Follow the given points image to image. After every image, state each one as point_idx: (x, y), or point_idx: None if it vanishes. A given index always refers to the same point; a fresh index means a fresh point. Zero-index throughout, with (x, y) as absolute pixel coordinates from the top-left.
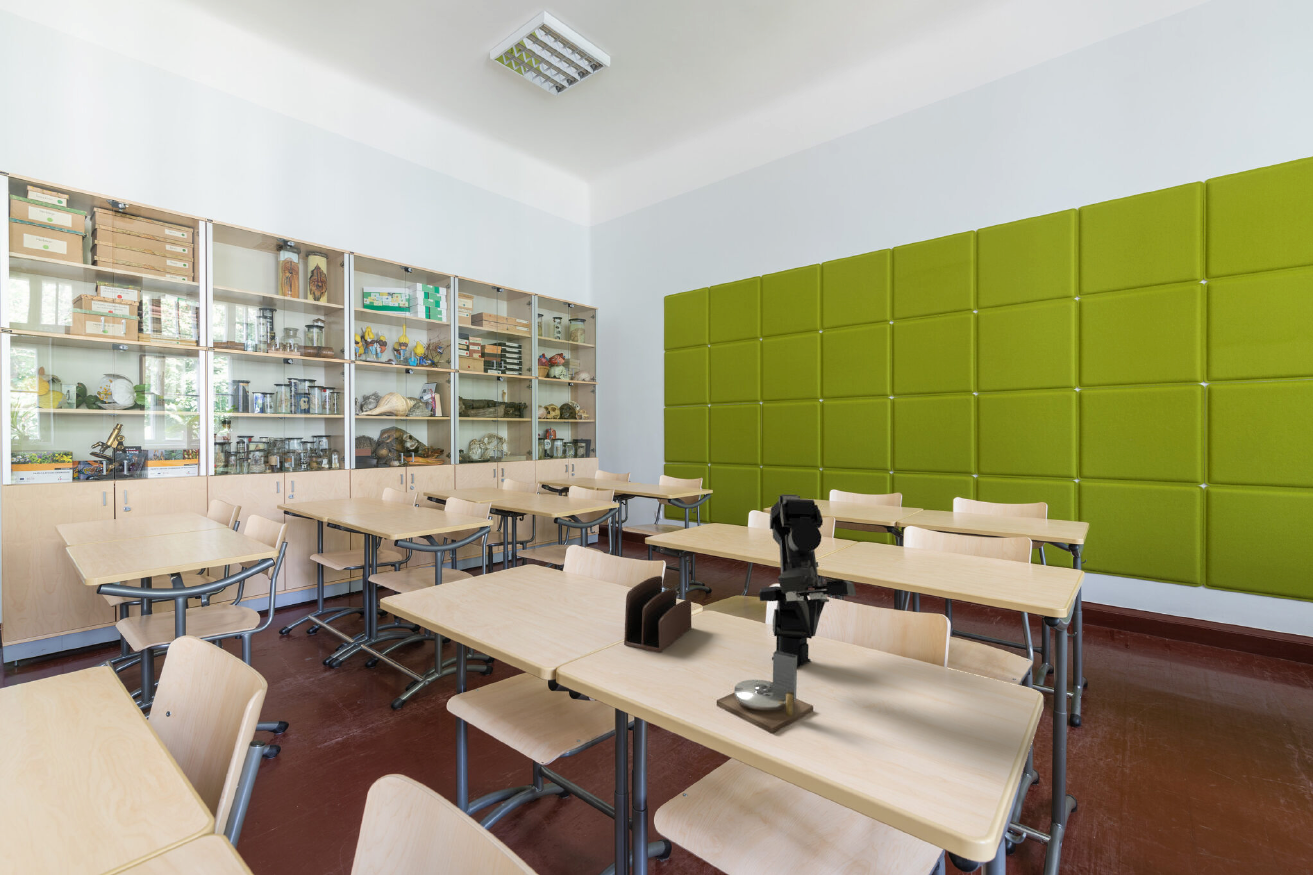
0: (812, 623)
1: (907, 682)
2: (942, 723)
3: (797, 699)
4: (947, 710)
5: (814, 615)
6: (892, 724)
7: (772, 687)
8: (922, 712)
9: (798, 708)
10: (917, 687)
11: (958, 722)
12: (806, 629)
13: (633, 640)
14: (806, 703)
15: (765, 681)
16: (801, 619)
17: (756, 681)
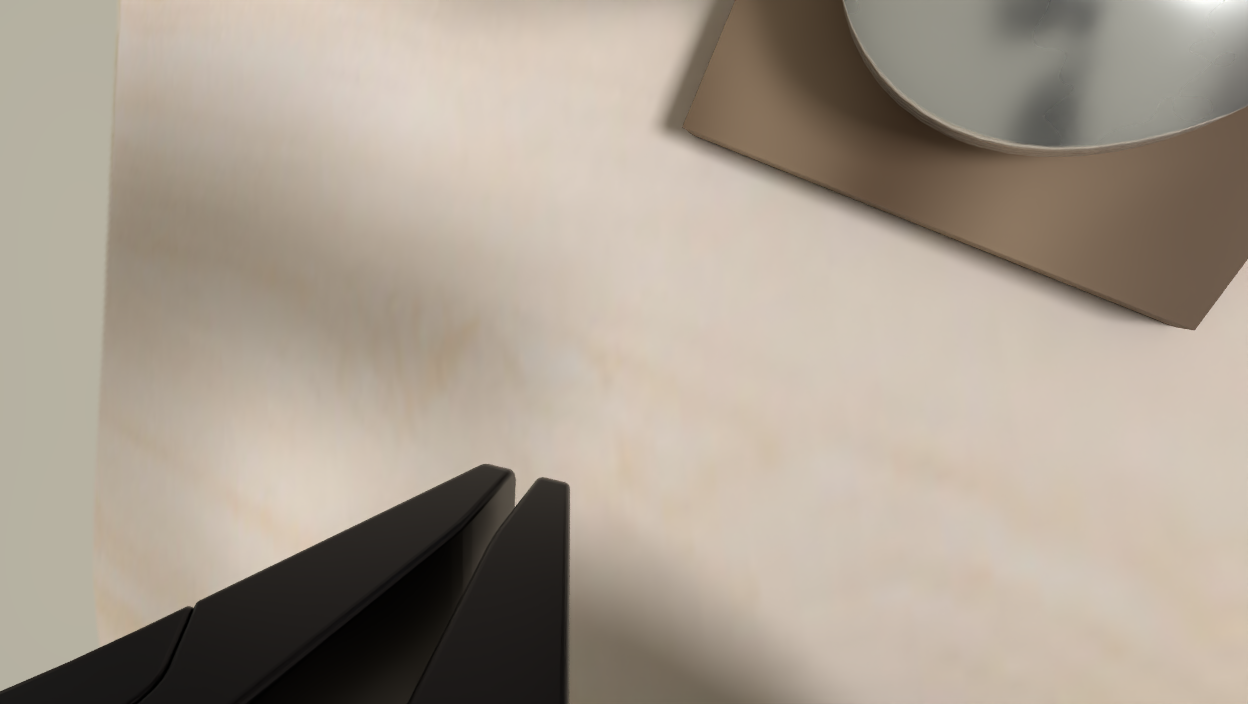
0: (337, 556)
1: None
2: (244, 313)
3: (792, 164)
4: (237, 433)
5: (84, 659)
6: (368, 207)
7: (1008, 25)
8: (294, 378)
9: (767, 27)
10: None
11: (211, 346)
12: (538, 532)
13: None
14: (727, 138)
15: (1110, 121)
16: (531, 701)
17: (1227, 64)
